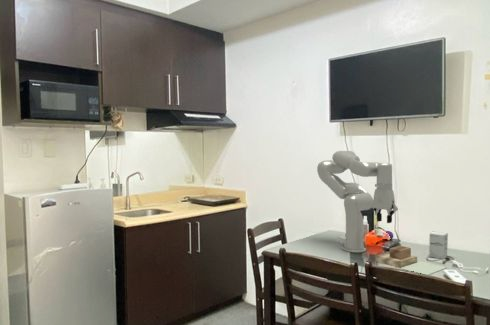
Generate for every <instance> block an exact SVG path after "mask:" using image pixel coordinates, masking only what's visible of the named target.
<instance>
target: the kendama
mask: <svg viewBox="0 0 490 325" xmlns="http://www.w3.org/2000/svg"><path fill="white" fill-rule="evenodd" d="M384 232H386V233H388V234H389V236H390V238H391V239H392V240H393V238H394V233H393V232H392V231H391V230H390V231H389V230H386V231H384Z"/></svg>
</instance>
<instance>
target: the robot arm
mask: <svg viewBox="0 0 490 325" xmlns="http://www.w3.org/2000/svg"><path fill="white" fill-rule="evenodd" d="M331 158H332V159H331V160H330V159H329V160H322V161H320V162H319V163H318V164H317V166H316V168H317V175H318V178H319V179H320V180H321V182H323V183H324V184H325V185H326V186H327V187H328V188H329V189H330V190H331V191H332V192H333V193H334V194H335V195H336V196H337V197H338V198H339V199H341V200H344V201H343V207H344V212H345V240H344V239H342V240H341V242H340V244H341V245H344V246H343V247H342V250H343V251H345V252H347V253H348V252H349V253H365V252H367V248H366V247H365V246H364V218H363V214H362V213H361V211H368V210H371V209H373V211H374V212H375V214H376V222H377V223H379V222H382V220H383V219H382V218H383V216H382V210H386V212H387V215H386V224H392V221H393V215H394V214H395V212H396V213H397V211H398V210H399V208H398V206H396V201H395V193H394V190H393V165H392V163H389V162H378V161H377V162H371V161H369V162H363V161H361V159H360V157H359V156H358V155H356V153H355V152H354V151H352V150H338V151H335V152H334V153H333V154H332V157H331ZM347 170H349V171H350V172H351V173H352V174H354V175H356V176H359V177H364V178H368V177H373V178H374V177H376V184H374V186H375V189H374V194H373V196H372V195H371V194H370V193H369V192H368V191H367V190H366V189H365V188H364V187H363V186H362V185H360V184H359V183H357V182H345V181H344V180H342V179H341V178H340V177H339V176H338V174H343V173H344V172H345V171H347Z"/></svg>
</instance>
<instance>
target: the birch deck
mask: <svg viewBox="0 0 490 325" xmlns="http://www.w3.org/2000/svg"><path fill="white" fill-rule="evenodd" d="M375 262H377V263H381V264H385V265H389V266H393V267H395V268H399V269H400V268H402V267H405V266H408V265H411V264H414V263H417V262H418V256H416V255H412V254H411V257H408V258H405V259H402V260H399V259H395V258H391V257H390V251H387V252H384V253H380V254H377V255H375Z"/></svg>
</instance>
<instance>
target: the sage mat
mask: <svg viewBox="0 0 490 325" xmlns="http://www.w3.org/2000/svg"><path fill="white" fill-rule="evenodd" d="M399 269H400V270H402V269H403V271H406V270H408V271H407V272H410V271H414V272H418V273H422V274H427V275H428V276H431V275H432V274H435V273H438V272H441V271H444V270H446V269H447V267H446V266H442V265H437V264H432V263H429V262H424V261H417V263H414V264H411V265H408V266H405V267H402V268H400V267H399ZM443 269H444V270H443ZM414 272H413V273H414ZM418 273H417V274H418ZM422 274H421V275H422Z"/></svg>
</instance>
